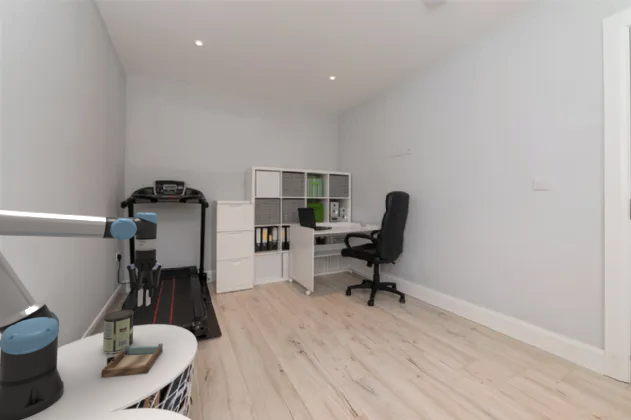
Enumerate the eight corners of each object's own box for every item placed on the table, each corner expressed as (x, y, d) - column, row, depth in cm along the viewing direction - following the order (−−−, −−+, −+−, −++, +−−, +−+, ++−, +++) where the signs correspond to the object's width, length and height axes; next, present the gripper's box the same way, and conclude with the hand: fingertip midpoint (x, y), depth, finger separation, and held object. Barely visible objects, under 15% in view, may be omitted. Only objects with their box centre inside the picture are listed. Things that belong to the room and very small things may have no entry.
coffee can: (118, 340, 116) (120, 308, 116) (138, 343, 114) (139, 310, 114) (95, 352, 106) (96, 317, 106) (117, 355, 104) (118, 320, 104)
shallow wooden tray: (101, 377, 90) (101, 370, 90) (120, 357, 103) (121, 350, 103) (147, 373, 93) (147, 366, 93) (160, 353, 106) (161, 347, 106)
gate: (123, 354, 104) (124, 346, 104) (126, 352, 106) (126, 344, 106) (161, 353, 106) (161, 345, 106) (163, 350, 108) (163, 343, 108)
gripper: (120, 250, 104) (118, 309, 104) (162, 250, 107) (160, 307, 107) (129, 247, 112) (127, 302, 111) (168, 247, 115) (167, 301, 115)
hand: (144, 304), depth 109 cm, fingers open, 2 cm apart
